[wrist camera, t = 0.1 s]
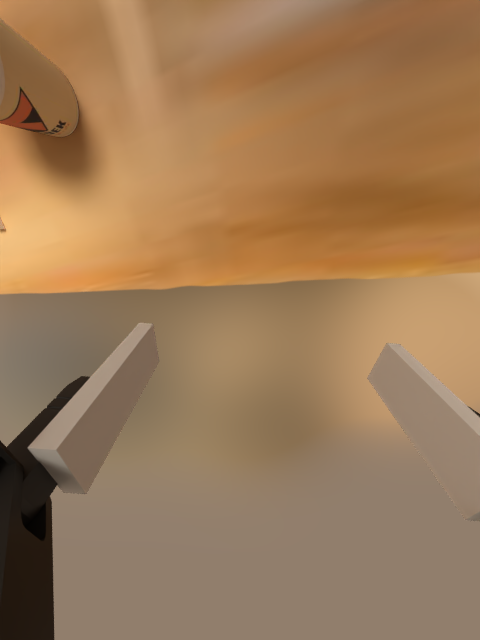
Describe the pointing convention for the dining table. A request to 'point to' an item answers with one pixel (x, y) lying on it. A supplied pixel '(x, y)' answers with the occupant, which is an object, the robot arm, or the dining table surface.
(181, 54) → the dining table surface
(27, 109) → the coffee cup
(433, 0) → the dining table surface
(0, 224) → the board
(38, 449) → the robot arm
